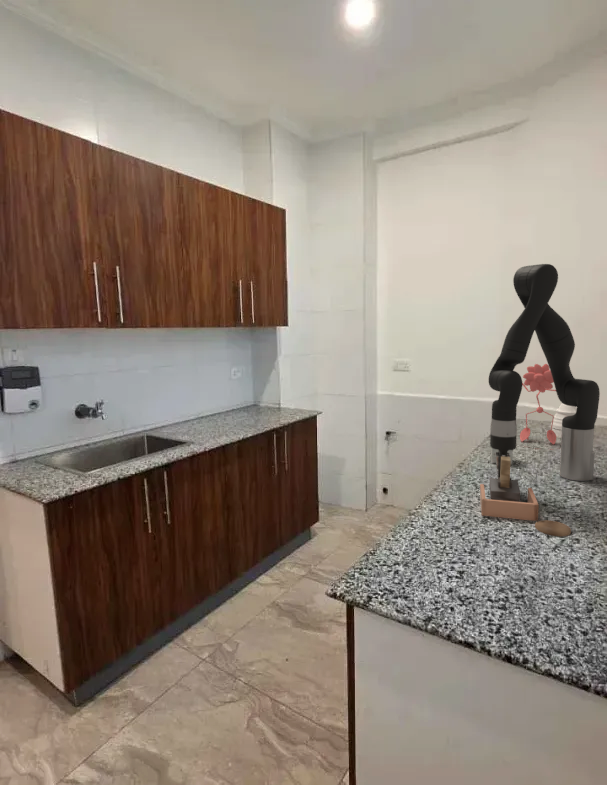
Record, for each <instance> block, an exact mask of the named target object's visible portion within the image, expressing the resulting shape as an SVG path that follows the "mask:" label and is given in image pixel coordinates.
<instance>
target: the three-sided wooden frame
mask: <svg viewBox="0 0 607 785" xmlns="http://www.w3.org/2000/svg"><path fill="white" fill-rule="evenodd" d="M536 497H537V496H536V495H535V493H534V490H533V488H532V487H528V488H527V502H523V501H520V502H514V501H503V500H492V499H490V498H486V490H485V484H484V483H480V484H479V502H480V513H481V516H483V517H493V518H503V519H504V518H505V519H512V520H514V519H515V520H523V521H524V520H525V521H533V522H534V521H536V522H537V521H539V509H540V508H539V506H540V504H539V503H538V500H537V498H536Z"/></svg>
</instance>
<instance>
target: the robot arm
mask: <svg viewBox="0 0 607 785" xmlns="http://www.w3.org/2000/svg"><path fill="white" fill-rule="evenodd" d="M558 280H559V273H558V269H557V268H556V267H555V266H554V265H552V264H551V263H541V264H532V265H525V266H522V267H520V268H518V269H517V270H516V272H514V276H513V280H512V282H513V287H514V290H515V293H516V295H517V297H518V298H519V300H520V302H521V304H522V306H523V308H524V309H523V310H522V313H520V315H519V316H518V317H517V318H516V320H515V321H514V322H513V323H512V325H511V327H510V328H509V330H508V331H507V334H506V336H505V339H504V341H503V345H502V349H501V351H500V355H499V356H498V357H497V359H496V361H495V362H494V364H493V366H492V368H491V369H490V372H489V374H488V386H489V388H490V389H492V390H493V391H497V392H499V395H498V398H497V399H496V400H494V401H493V402H492V405H491V419H490V429H489V431H490V434H489V446H490V448H493V449H498V452H496V463H495V464H496V469H497V471H496V472H497V478H498V477H500V466H501V456H502V457H510V455H509V453H507V451H508V450H513V451H514V450H516V448H517V435H518V434H517V431H518V430H517V429H518V424H517V406H518V403H519V400H520V397H521V394H522V389H523V385H522V383H523V379H522V378H523V377H522V376H521V374H520V373H519V372H517V371H515V370H514V369H515V368H516V367H517V365H520V364H522V363H524V361H525V359H526V357H527V354H528V350H529V348H530V344H531V340H532V338H533V335H534V332H535V335H536V337H537V341H538V342H539V345H540V348H541V351H542V352H543V354H544V357H545V359H546V362H547V364H548V366H549V370H550V371H551V374H552V377H553V381H554V382H553V385H554V388H555V389H554V390H556V391H555V392H556V396H557V398H558V400H559V401H560V402H561V404H562V403H563V404H565V405H568V406H575V407H576V408H577V410H576V414H574V415H572V416H567V417H564V418H563V420H562V436H561V438H560V439H561V440H560V448H561V449H560V455H559V456H560V457H559V458H560V459H559V460H560V461H559V476H560V477H562V478H564V479H567V480H571V481H578V482H579V481H581V482H583V481H594V474H595V472H594V470H595V458H596V457H595V456H596V452H595V451H594V437H595V424H596V422H597V420H598V413H599V412H598V411H599V405H600V404H599V403H600V394H601V393H600V387H599V384H598V382H596V381H594V380H591V379H584V378H583V379H582V378H575V377H574V375H573V372H572V370H571V368H570V367H571V366H570V363H571V360H572V357H573V355H574V351H575V348H576V347H575V346H576V343H575V339H574V336H573V334H572V331H571V327H570V326H569V325H568V323H567V321H566V320H565V319H564V318H563V317H562V316H561V315H560V314H559V313H558V312H557V311H556V310H554V308H552V307H551V305H550V304H549V302H550V299H551V298H552V296H553V294H554V292H555V290H556V288H557V285H558Z"/></svg>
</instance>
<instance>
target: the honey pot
mask: <svg viewBox="0 0 607 785" xmlns="http://www.w3.org/2000/svg"><path fill="white" fill-rule="evenodd" d="M576 410H577V407H575V406H568V405H565V404H563V403H562V402H561V403H560V405H559V407H558V408H556V409H555V413H554V415H553V416H554V419H553V418H552V419H553V425H552V421H551V423H550V426H551V425H552V431H554V433H555V434H556V438H560V439H561V436H562V420H563V418H564V417H567V416H572V415H574V414H576Z"/></svg>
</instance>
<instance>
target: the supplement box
mask: <svg viewBox="0 0 607 785" xmlns="http://www.w3.org/2000/svg"><path fill="white" fill-rule="evenodd" d="M490 448H491V447H490ZM490 451H491V452H490V453H491V454H490V459H491V460H490V461H491V463H492V464H496V452H498V449H493V448H491V449H490ZM513 452H514V450H508V451H507V453H509V455H510V460H511V465H510V466H512V465H513V456H514V455H513V454H514V453H513Z"/></svg>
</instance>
